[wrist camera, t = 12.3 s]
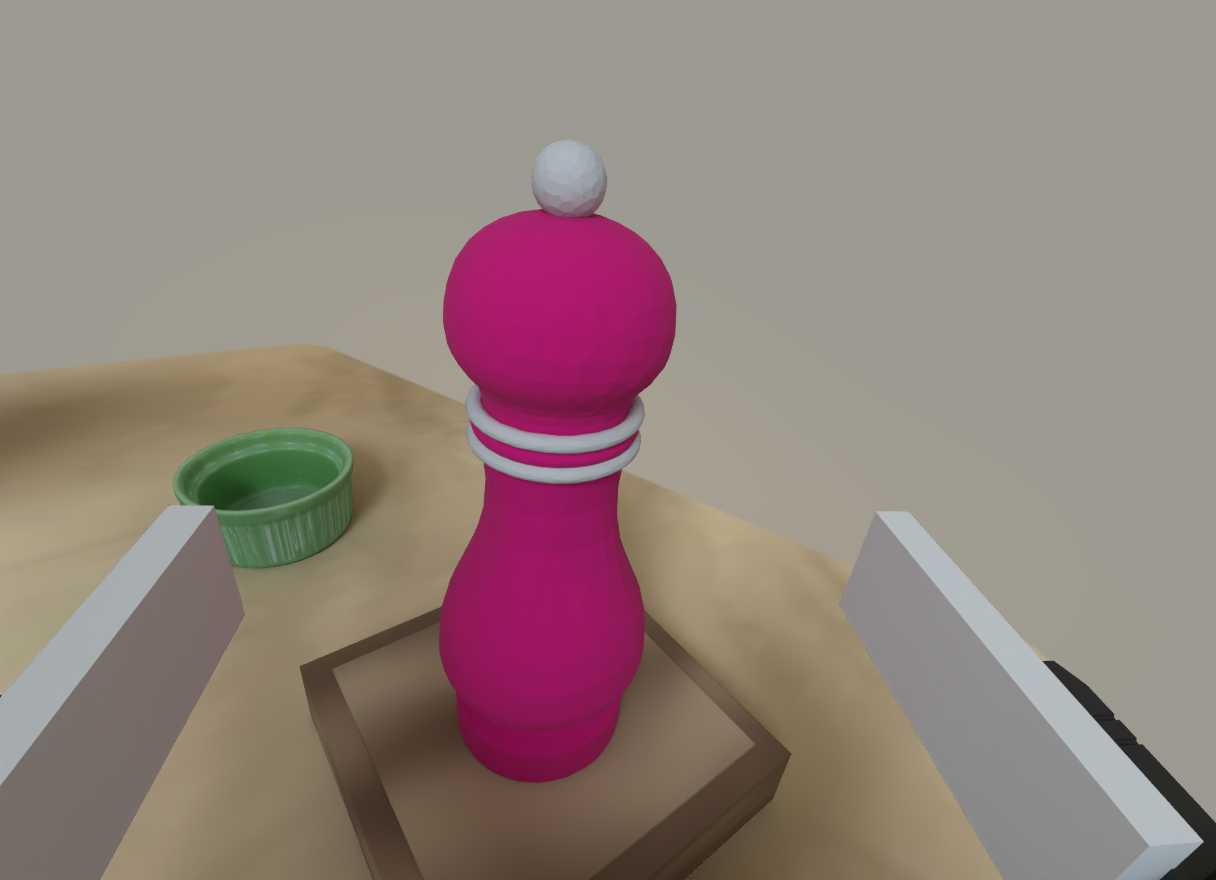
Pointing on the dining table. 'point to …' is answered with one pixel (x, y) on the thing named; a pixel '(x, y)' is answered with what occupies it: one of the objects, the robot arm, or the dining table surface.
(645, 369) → the pepper mill
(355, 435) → the dining table surface
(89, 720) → the robot arm
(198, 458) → the ramekin
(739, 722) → the plinth
